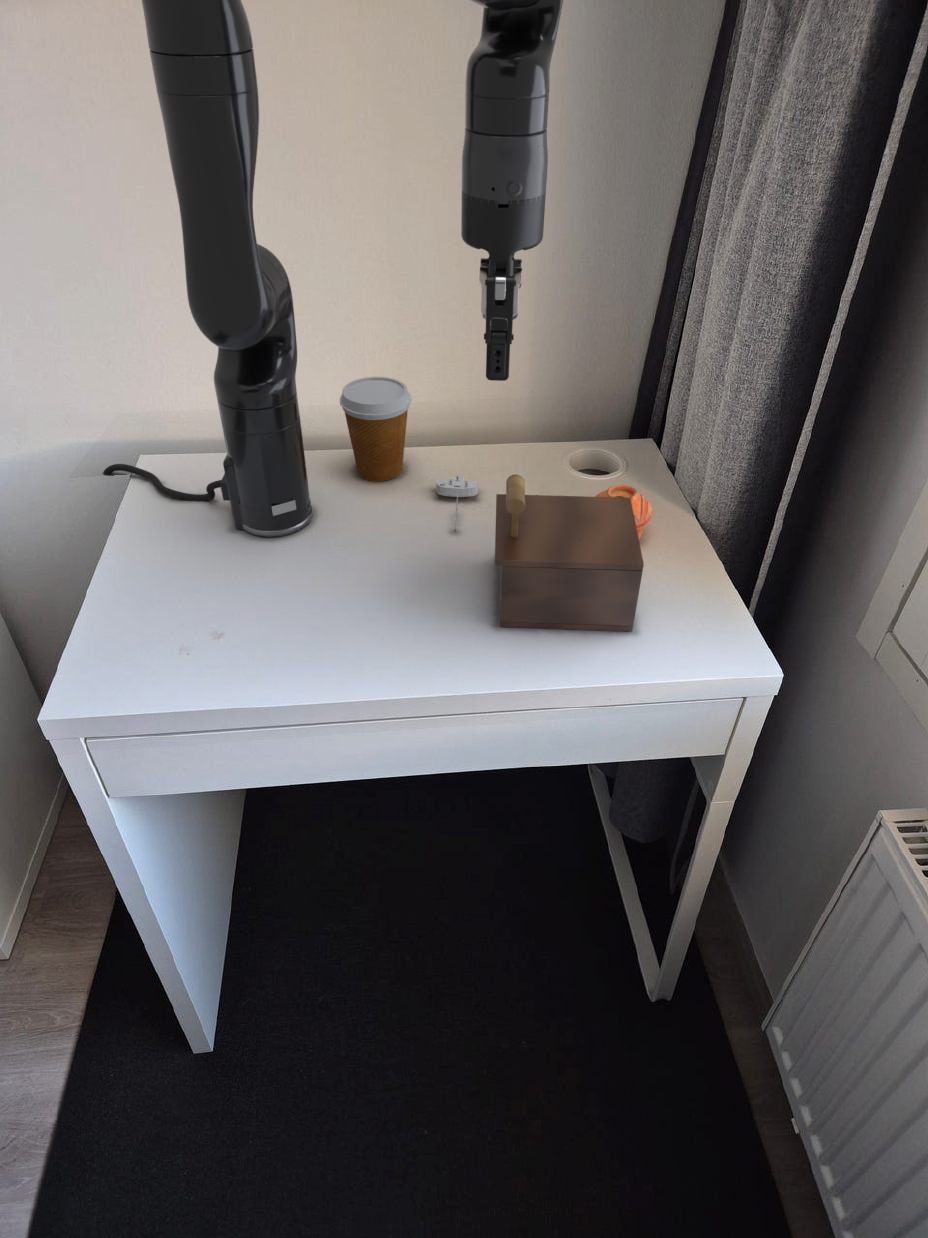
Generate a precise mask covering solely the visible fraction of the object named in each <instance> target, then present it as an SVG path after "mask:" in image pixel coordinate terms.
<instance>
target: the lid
mask: <svg viewBox="0 0 928 1238" xmlns="http://www.w3.org/2000/svg"><path fill="white" fill-rule="evenodd" d="M525 483H526V482H525V479H524V477H523V476H522V475H520V474H517V473H515V474H511V475H509V476H508V477H507V478H506V481H505V493H496V497H495V499H496V500H495V532H494V533H495V535H494V537H495V538H494V539H495V540H494V567H501V566H511V567H545V568H579V569H612V570H644V566H645V563H644V558H643V554H642V549H641V548H642V547H641V545H640V544H641V543H640V539H639V538H638V533H637V528H636V523H635V518H634V513H633V508H632V503H631V498H623V497H595V496H583V495H582V496H581V495H580V496H579V495H549V494H548V495H545V494H543V495H542V494H526V484H525Z"/></svg>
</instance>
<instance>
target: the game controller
mask: <svg viewBox="0 0 928 1238" xmlns="http://www.w3.org/2000/svg"><path fill="white" fill-rule="evenodd" d="M479 488H480V481H478V480H471V481H465V480H464V477H463V476H460V475H456V476H455V477H453V478H452V479H449V481H446V480H445V479H437V480H436V493H437V495H439V496H443V497H453V498H454V497H455V498H456V504H455V505H456V506H455V519H454V533H457V532H456V531H457V518H458V503H459V502H458V501H459V498H467V497H475V496H477V495H478V493H479V491H480V489H479Z"/></svg>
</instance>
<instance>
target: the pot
mask: <svg viewBox="0 0 928 1238" xmlns="http://www.w3.org/2000/svg"><path fill="white" fill-rule="evenodd" d="M594 497H623V498H631V503H632V508H633V513H634V518H635V523H636V528H637V533H638V538H639V540H640V539H641V536H642V533H643V530H644V527H645V526H646V525H647V524H648V523H649V522H650V521H651V519H652V517H653V507H652V506H651V503H650V502H649V501H648V499H647V498H646V497H645V496H644V495H642V494H641V493H639V492H638V491H637V489H636V488H634V487H633V486H630V485H624V484H617V485H612V486H610V487H608V488H607V489H605V490H603V491H601V492H599V493H598V494H596V495H594Z"/></svg>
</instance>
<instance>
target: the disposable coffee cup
mask: <svg viewBox="0 0 928 1238" xmlns="http://www.w3.org/2000/svg"><path fill="white" fill-rule="evenodd" d="M341 391H342V392H341V395H340V397H339V406H341V409H342V410H343V411H344V416H345V421H346V426H347V430H348V434H349V438H350V443H351V447H352V452H353V457H354V461H355V465H356V471H357V474H358V475H359V477H361V478H363V479H364V480H367V481H373V482H385V481H389V480H390V481H391V480H393V479H396V478H397V477H399V476H400V475H401V474H402V472H403V466H404V464H403V463H404V453H405V444H406V434H407V423H408V411H409V408H410V405H411V403H412V395H411V394H410V392H409V389H408V387H407V385H406V384H405V383H404V382H402V381H401V380H399V379H396V378H393V377H388V376H366V377H361V378H357V379H354V380H352V381H350V382H348V383H347V384H345V385H344V387H343V388H342V390H341Z"/></svg>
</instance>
